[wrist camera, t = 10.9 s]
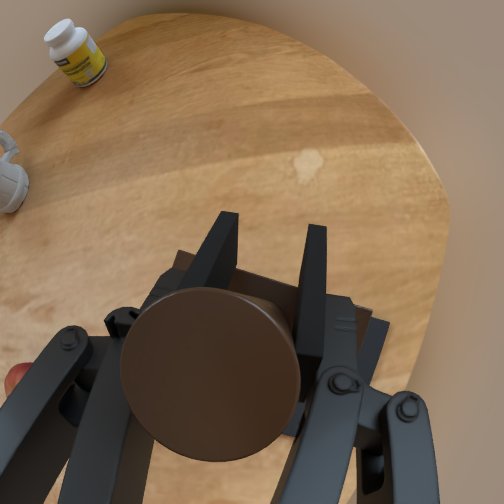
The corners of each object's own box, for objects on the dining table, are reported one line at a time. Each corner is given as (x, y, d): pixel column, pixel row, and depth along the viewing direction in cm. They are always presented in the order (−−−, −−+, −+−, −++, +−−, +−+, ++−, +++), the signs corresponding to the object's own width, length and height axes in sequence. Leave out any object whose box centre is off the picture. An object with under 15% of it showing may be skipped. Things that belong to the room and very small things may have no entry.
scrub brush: (355, 308, 18) (511, 312, 4) (328, 386, 17) (409, 538, 3) (198, 260, 19) (39, 171, 6) (174, 335, 19) (-10, 373, 5)
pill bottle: (70, 91, 39) (31, 51, 27) (85, 62, 40) (51, 21, 28) (99, 85, 38) (61, 39, 26) (114, 56, 39) (83, 9, 27)
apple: (26, 390, 31) (-13, 400, 23) (39, 347, 32) (-4, 351, 24) (64, 428, 30) (26, 445, 22) (79, 385, 31) (37, 399, 23)
